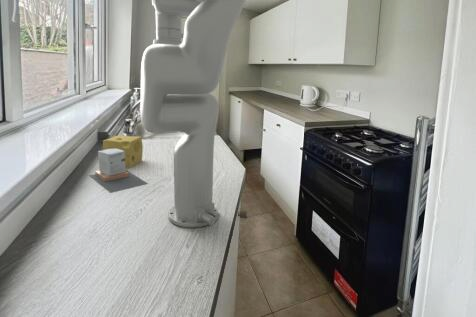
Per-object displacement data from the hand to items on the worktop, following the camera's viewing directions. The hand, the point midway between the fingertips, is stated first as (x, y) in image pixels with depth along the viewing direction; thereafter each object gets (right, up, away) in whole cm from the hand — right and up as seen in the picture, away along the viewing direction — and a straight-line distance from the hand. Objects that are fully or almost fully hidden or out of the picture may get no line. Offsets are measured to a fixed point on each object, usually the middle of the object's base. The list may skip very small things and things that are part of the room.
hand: (169, 92), depth 99 cm
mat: (-17, -29, 0) cm, 33 cm away
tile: (-17, -27, +1) cm, 33 cm away
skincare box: (-20, -26, +3) cm, 33 cm away
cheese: (-21, -24, +17) cm, 36 cm away
